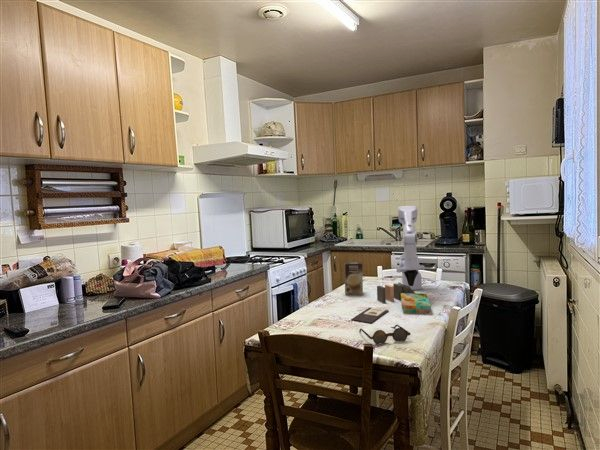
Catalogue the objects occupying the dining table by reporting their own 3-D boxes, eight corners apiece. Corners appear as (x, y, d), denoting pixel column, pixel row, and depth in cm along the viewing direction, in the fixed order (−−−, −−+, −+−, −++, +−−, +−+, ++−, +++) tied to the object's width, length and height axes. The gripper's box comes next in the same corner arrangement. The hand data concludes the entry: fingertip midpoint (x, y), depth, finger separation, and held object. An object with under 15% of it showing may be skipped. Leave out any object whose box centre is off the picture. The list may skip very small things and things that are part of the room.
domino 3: (396, 297, 191) (396, 283, 190) (402, 299, 186) (401, 285, 186) (393, 297, 190) (393, 283, 190) (399, 300, 186) (399, 285, 185)
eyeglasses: (370, 346, 133) (370, 332, 133) (356, 331, 148) (356, 318, 148) (410, 341, 136) (410, 327, 136) (393, 327, 151) (392, 315, 150)
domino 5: (411, 293, 194) (402, 284, 192) (417, 295, 189) (408, 286, 187) (409, 295, 193) (400, 286, 191) (415, 298, 189) (406, 288, 187)
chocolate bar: (351, 319, 160) (369, 307, 174) (351, 321, 160) (369, 309, 174) (371, 322, 155) (388, 310, 169) (371, 325, 155) (388, 312, 169)
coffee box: (345, 295, 199) (344, 263, 198) (344, 291, 206) (344, 261, 204) (363, 294, 198) (362, 263, 197) (362, 291, 205) (361, 261, 203)
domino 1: (380, 299, 188) (379, 285, 188) (385, 302, 183) (385, 287, 183) (377, 300, 188) (376, 285, 187) (382, 302, 183) (382, 288, 182)
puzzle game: (401, 303, 166) (400, 291, 185) (402, 314, 166) (400, 301, 186) (430, 303, 163) (426, 291, 183) (430, 314, 164) (426, 301, 183)
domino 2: (388, 298, 190) (387, 284, 189) (393, 301, 185) (393, 286, 184) (385, 298, 189) (384, 284, 189) (390, 301, 184) (390, 286, 184)
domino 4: (404, 295, 192) (399, 282, 191) (410, 297, 188) (405, 284, 186) (401, 296, 192) (396, 284, 191) (407, 299, 187) (402, 286, 186)
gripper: (402, 260, 183) (402, 289, 184) (428, 257, 188) (428, 285, 189) (393, 258, 190) (394, 285, 191) (419, 255, 194) (419, 282, 195)
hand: (410, 285), depth 190 cm, fingers closed
